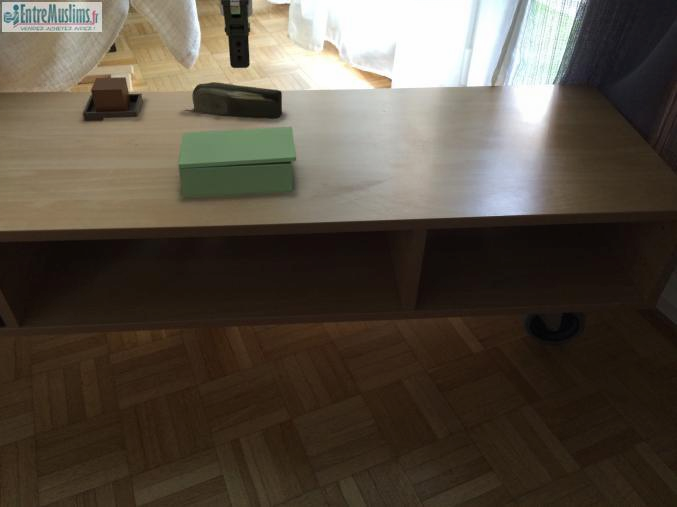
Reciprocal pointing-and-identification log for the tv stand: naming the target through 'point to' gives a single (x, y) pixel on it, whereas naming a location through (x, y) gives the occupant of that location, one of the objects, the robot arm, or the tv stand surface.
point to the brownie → (111, 94)
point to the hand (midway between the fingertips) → (240, 65)
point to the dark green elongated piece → (237, 101)
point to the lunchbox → (237, 179)
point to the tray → (133, 111)
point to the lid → (237, 147)
